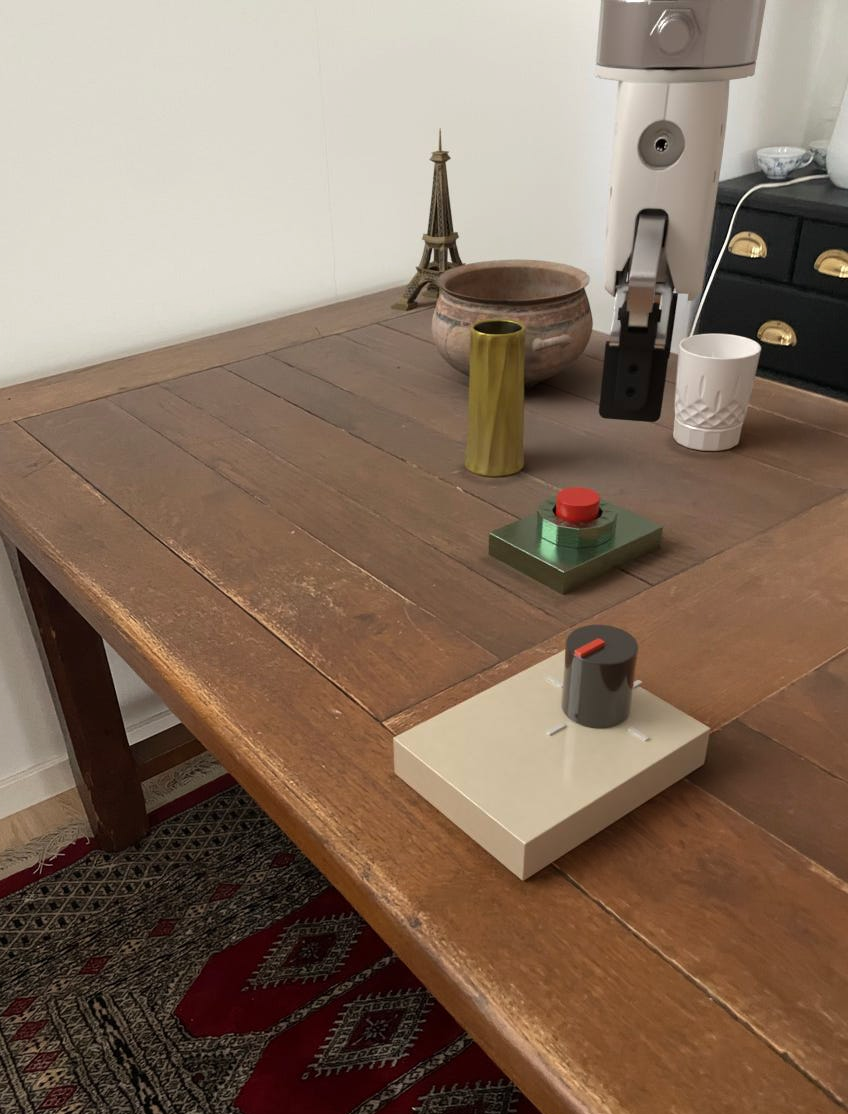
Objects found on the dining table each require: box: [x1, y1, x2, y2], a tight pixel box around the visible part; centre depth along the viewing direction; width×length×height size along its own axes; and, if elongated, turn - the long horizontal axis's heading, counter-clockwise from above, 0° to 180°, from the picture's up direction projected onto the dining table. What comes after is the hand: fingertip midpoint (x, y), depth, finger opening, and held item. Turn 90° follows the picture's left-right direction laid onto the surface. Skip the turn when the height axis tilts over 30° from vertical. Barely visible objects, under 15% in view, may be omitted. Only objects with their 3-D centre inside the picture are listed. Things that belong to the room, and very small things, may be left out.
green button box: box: [488, 495, 664, 596], centre depth 88 cm, size 12×9×4 cm
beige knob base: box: [392, 649, 711, 882], centre depth 65 cm, size 16×12×3 cm
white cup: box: [672, 333, 762, 452], centre depth 105 cm, size 8×8×10 cm
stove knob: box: [561, 624, 639, 728], centre depth 65 cm, size 4×4×5 cm
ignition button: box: [556, 486, 601, 522], centre depth 87 cm, size 4×4×2 cm
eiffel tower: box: [390, 129, 467, 312], centre depth 146 cm, size 11×11×25 cm
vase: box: [464, 319, 526, 478], centre depth 101 cm, size 6×6×14 cm
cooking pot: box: [431, 258, 594, 390], centre depth 122 cm, size 25×19×12 cm
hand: (635, 387), depth 58 cm, fingers open, 9 cm apart
